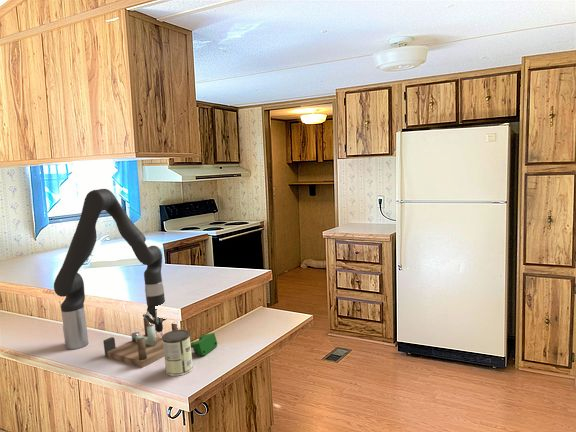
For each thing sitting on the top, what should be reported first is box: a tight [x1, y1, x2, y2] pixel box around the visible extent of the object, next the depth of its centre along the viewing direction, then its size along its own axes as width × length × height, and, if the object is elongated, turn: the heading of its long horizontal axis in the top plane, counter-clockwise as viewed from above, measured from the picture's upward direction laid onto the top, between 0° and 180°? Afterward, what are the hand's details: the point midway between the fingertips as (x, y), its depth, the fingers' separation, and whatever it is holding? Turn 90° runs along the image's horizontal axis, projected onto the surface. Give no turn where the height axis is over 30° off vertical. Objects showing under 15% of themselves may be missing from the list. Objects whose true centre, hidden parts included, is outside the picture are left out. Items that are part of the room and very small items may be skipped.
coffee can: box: [161, 329, 194, 377], centre depth 170 cm, size 10×10×14 cm
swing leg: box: [131, 324, 156, 346], centre depth 192 cm, size 14×3×8 cm, turn 56°
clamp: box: [190, 332, 218, 357], centre depth 186 cm, size 12×6×9 cm, turn 150°
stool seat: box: [102, 317, 178, 368], centre depth 190 cm, size 24×22×10 cm
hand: (159, 331), depth 193 cm, fingers closed
